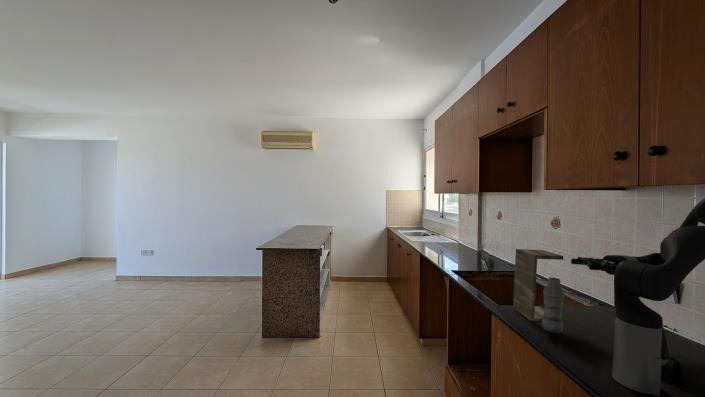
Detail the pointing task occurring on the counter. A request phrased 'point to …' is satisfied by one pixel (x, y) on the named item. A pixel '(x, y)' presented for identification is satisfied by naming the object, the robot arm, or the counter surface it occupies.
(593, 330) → the counter surface
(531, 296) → the cubby shelf
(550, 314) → the plastic bottle
